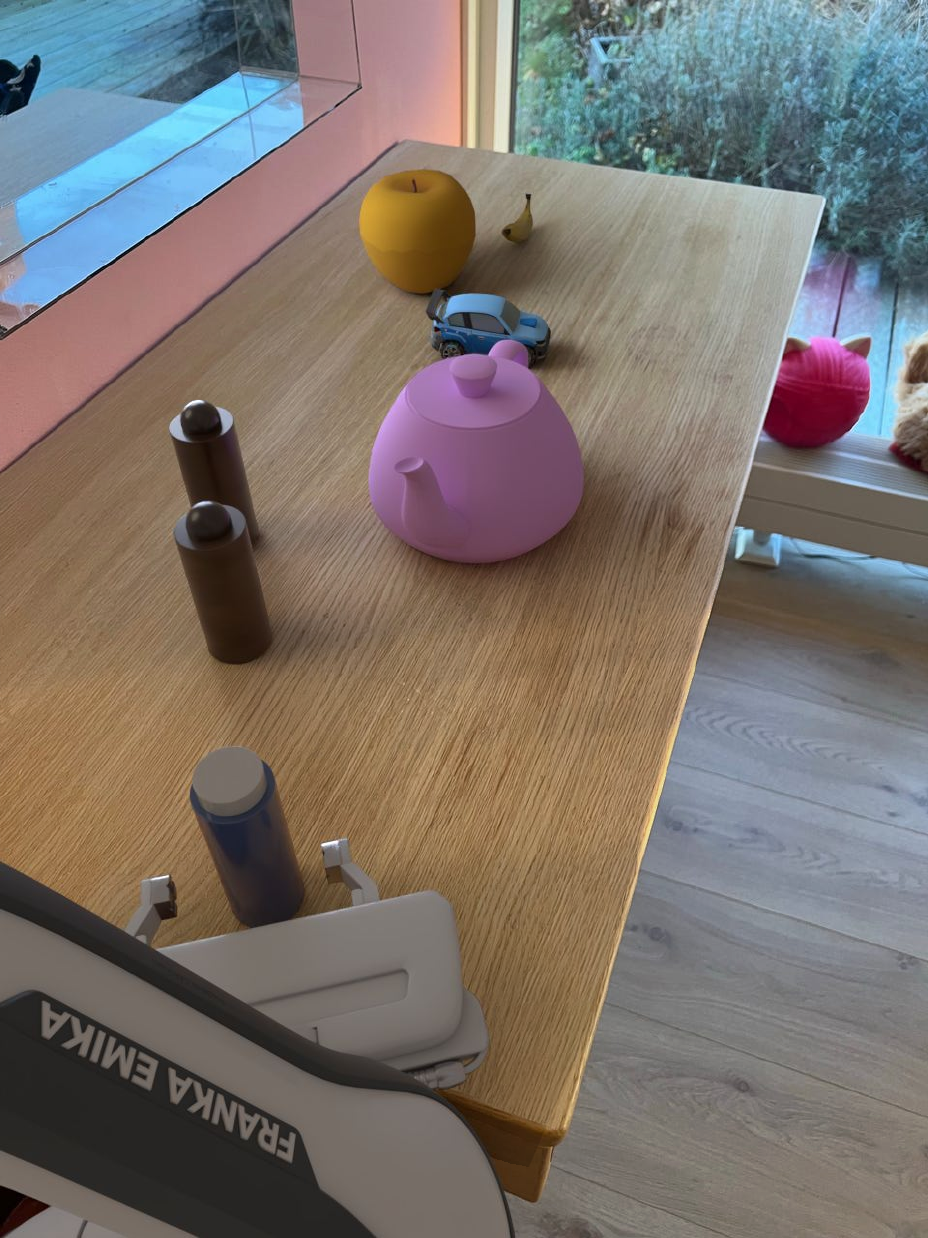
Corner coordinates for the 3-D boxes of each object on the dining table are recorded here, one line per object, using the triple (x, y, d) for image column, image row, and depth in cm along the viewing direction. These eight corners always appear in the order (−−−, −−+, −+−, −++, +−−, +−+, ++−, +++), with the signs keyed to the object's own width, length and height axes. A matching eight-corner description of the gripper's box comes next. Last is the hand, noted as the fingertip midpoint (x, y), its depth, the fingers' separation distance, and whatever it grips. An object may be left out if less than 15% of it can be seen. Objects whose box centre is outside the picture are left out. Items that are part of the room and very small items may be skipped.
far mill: (188, 544, 82) (149, 412, 73) (223, 510, 85) (190, 379, 76) (236, 561, 81) (202, 428, 72) (270, 526, 84) (241, 394, 75)
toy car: (545, 371, 100) (547, 319, 95) (427, 363, 101) (424, 312, 97) (551, 341, 104) (553, 289, 100) (438, 334, 105) (435, 283, 101)
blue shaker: (215, 910, 59) (166, 790, 50) (258, 852, 62) (219, 728, 53) (277, 941, 57) (237, 823, 49) (318, 880, 60) (287, 757, 52)
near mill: (194, 651, 74) (151, 516, 65) (233, 610, 77) (197, 475, 68) (247, 672, 72) (211, 537, 63) (285, 629, 75) (255, 494, 66)
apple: (345, 295, 112) (332, 192, 104) (396, 246, 120) (389, 147, 112) (450, 316, 108) (445, 210, 100) (496, 264, 116) (495, 162, 108)
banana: (517, 262, 116) (517, 228, 113) (497, 260, 117) (497, 226, 114) (538, 225, 123) (539, 193, 120) (519, 223, 124) (519, 191, 121)
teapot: (429, 415, 95) (421, 278, 85) (612, 450, 90) (625, 309, 80) (310, 587, 78) (283, 443, 69) (526, 641, 74) (530, 494, 64)
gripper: (499, 1048, 43) (434, 791, 53) (10, 1166, 41) (35, 872, 50) (499, 1100, 48) (439, 854, 58) (59, 1210, 45) (73, 932, 55)
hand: (248, 863), depth 54 cm, fingers open, 8 cm apart
